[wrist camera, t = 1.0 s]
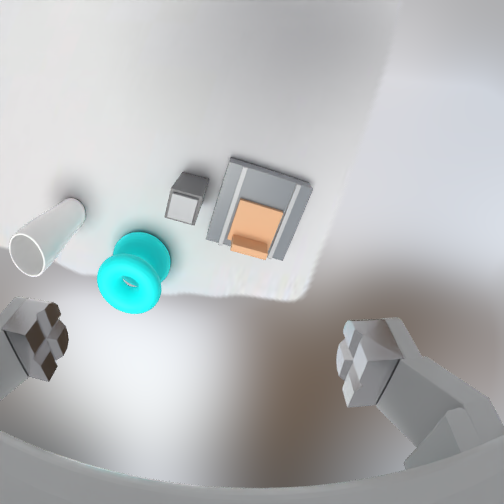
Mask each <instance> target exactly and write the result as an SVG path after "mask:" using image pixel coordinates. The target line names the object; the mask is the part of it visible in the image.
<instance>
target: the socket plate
mask: <svg viewBox="0 0 504 504" xmlns="http://www.w3.org/2000/svg"><path fill="white" fill-rule="evenodd" d="M312 190H313V188H312V187H311V185H310V184H309V183H308V182H305V181H302V180H299V179H296V178H293V177H290V176H287V175H284V174H281V173H278V172H275V171H272V170H269V169H266V168H263V167H260V166H257V165H253V164H250V163H247V162H244V161H240V160H237V159H234V158H230V161H229V164H228V167H227V170H226V173H225V176H224V180H223V183H222V186H221V189H220V192H219V196H218V199H217V202H216V206H215V209H214V212H213V215H212V219H211V222H210V226H209V229H208V233H207V237H206V239H207V240H210V241H214V242H217V243H218V245H221V246H222V244H225V245H228V246H231V240H228V239H227V237H228V234H229V231H230V228H231V225H232V222H233V219H234V216H235V213H236V210H237V207H238V204H239V201H240V198H242V199H245V200H249V201H252V202H255V203H258V204H262V205H265V206H268V207H271V208H275V209H278V210H281V211H283V215H282V218H281V220H280V223H279V225H278V228H277V230H276V233H275V235H274V238H273V240H272V243H271V245H270V248H269V250H268V255H267V258H268V259H272V258H275V259H278V260H282V261H283V259H284V256H285V254H286V252H287V250H288V247H289V245H290V243H291V240H292V238H293V236H294V233H295V231H296V229H297V226H298V224H299V221H300V219H301V217H302V214H303V212H304V210H305V207H306V205H307V202H308V200H309V198H310V195H311V193H312Z"/></svg>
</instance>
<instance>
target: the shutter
mask: <svg viewBox="0 0 504 504" xmlns="http://www.w3.org/2000/svg"><path fill="white" fill-rule="evenodd" d="M282 215H283V211H281V210H278V209H275V208H271V207H268V206H265V205H262V204H258V203H255V202H252V201H249V200H245V199H242V198H240V201H239V204H238V207H237V210H236V213H235V216H234V219H233V222H232V225H231V228H230V231H229V234H228V237H227V239H228V240H231V251H234V252H238V253H242V254H245V255H249V256H252V257H256V258H260V259H263V260H266V258H267V255H268V250H269V248H270V245H271V243H272V240H273V238H274V235H275V233H276V230H277V228H278V225H279V223H280V220H281V218H282Z"/></svg>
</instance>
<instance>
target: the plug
mask: <svg viewBox="0 0 504 504" xmlns="http://www.w3.org/2000/svg"><path fill="white" fill-rule="evenodd" d="M208 181H209V179H207V178H203V177H200V176H196V175H193V174H189V173H185V172H183V173H182V174H181V175H180V177H179V178H178V179H177V181H176V182H175V184H174V185H173V186H172V188H171V191H170V195H169V199H168V204H167V208H166V212H165V218H169V219H173V220H176V221H180V222H183V223H187V224H191V225H195V222H196V220H197V217H198V214H199V211H200V208H201V205H202V202H203V199H204V195H205V192H206V188H207V185H208Z"/></svg>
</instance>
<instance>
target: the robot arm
mask: <svg viewBox="0 0 504 504" xmlns="http://www.w3.org/2000/svg"><path fill="white" fill-rule="evenodd" d="M60 316H61V313H60V310H59V307H58V305H57V304H55V303H53V302H49V301H42V300H37V299H32V298H25V297H20V296H19V297H15V298H14V299H13V300H12V301H11V302H10V304H8V306H7V307H6V308H5V309H4V310H3V311H2V313H1V314H0V401H1V400H2V399H3V398H4V397H5V396H7V395H8V394H9V393H10V392H11V391H12V390H14V389H15V388H16V387H17V386H19V385H20V384H21V383H22V382H24V381H25V380H26V379H28V377H32V378H36V379H40V380H44V381H48V382H49V381H50V379H51V377H52V376H53V374H54V372H55V370H56V368H57V359H59V358H61V357H62V356H64V354H65V352H66V350H67V346H68V341H69V339H68V332H67V329H66V326H65V325H64V324H63V323H62V322H61V321H60V320H59V319H60ZM343 333H344V336H345V339H344V340H343V341H342V342H341V343H340V344H339V348H338V351H337V360H336V363H337V370H338V374H339V376H340V377H341V378H342V379H343V380H344V381H345V383H344V385H343V388H342V390H343V393H344V397H345V400H346V405H347V407H360V406H371V405H376V407H377V408H378V409H379V410H380V411H381V412H382V413H383V414H384V415H385V416H386V417H387V418H388V419H389V420H390V421H391V422H392V423H393V424H394V425H395V426H396V427H397V428H398V429H399V430H400V431H401V432H402V433H403V434H404V435H405V436H406V437H407V438H408V439H409V440H410V441H411V442H412V443H413V444H414V445H415V446H416V447H417V448H416V449H415V450H414V451H413V452H412V453H411V455H410V456H409V457H408V458H407V459H406V460H405V462H404V466H405V469H406V470H403V471H399V472H395V473H390V474H386V475H381V476H376V477H372V478H366V479H360V480H354V481H347V482H340V483H333V484H324V485H314V486H302V487H286V488H228V487H212V486H199V485H190V484H181V483H174V482H167V481H160V480H154V479H148V478H143V477H138V476H133V475H128V474H124V473H119V472H115V471H111V470H107V469H103V468H99V467H96V466H92V465H89V464H85V463H82V462H79V461H76V460H72V459H69V458H66V457H63V456H60V455H58V454H55V453H52V452H49V451H47V450H44V449H41V448H39V447H37V446H34V445H32V444H29V443H27V442H24V441H22V440H20V439H18V438H15V437H13V436H11V435H9V434H7V433H5V432H3V431H1V430H0V504H504V426H503V424H502V422H501V420H500V418H499V416H498V414H497V412H496V410H495V408H494V406H493V405H492V403H491V401H490V399H489V397H487V396H486V395H484V394H482V393H481V392H480V391H478V390H477V389H475V388H474V387H472V386H470V385H469V384H468V383H466V382H464V381H463V380H461V379H460V378H458V377H457V376H455V375H454V374H452V373H451V372H449V371H448V370H446V369H445V368H443V367H442V366H440V365H439V364H437V363H436V362H434V361H433V360H431V359H430V358H428V357H422V356H421V354H420V352H419V351H418V348H417V347H416V345H415V343H414V341H413V339H412V338H411V336H410V334H409V332H408V331H407V329H406V327H405V326H404V324H403V322H402V320H401V319H399V318H384V319H368V320H348V321H347V322H346V324H345V327H344V330H343Z"/></svg>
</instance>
